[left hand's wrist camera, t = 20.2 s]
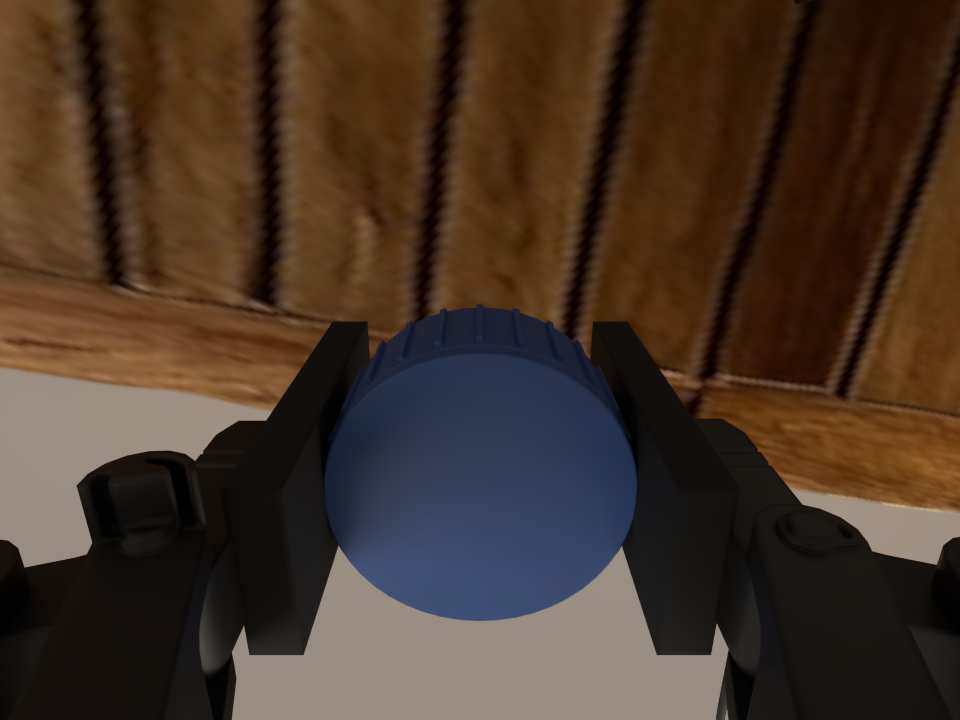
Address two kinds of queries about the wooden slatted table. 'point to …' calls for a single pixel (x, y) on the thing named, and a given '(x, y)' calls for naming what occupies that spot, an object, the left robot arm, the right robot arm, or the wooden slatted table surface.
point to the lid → (480, 467)
